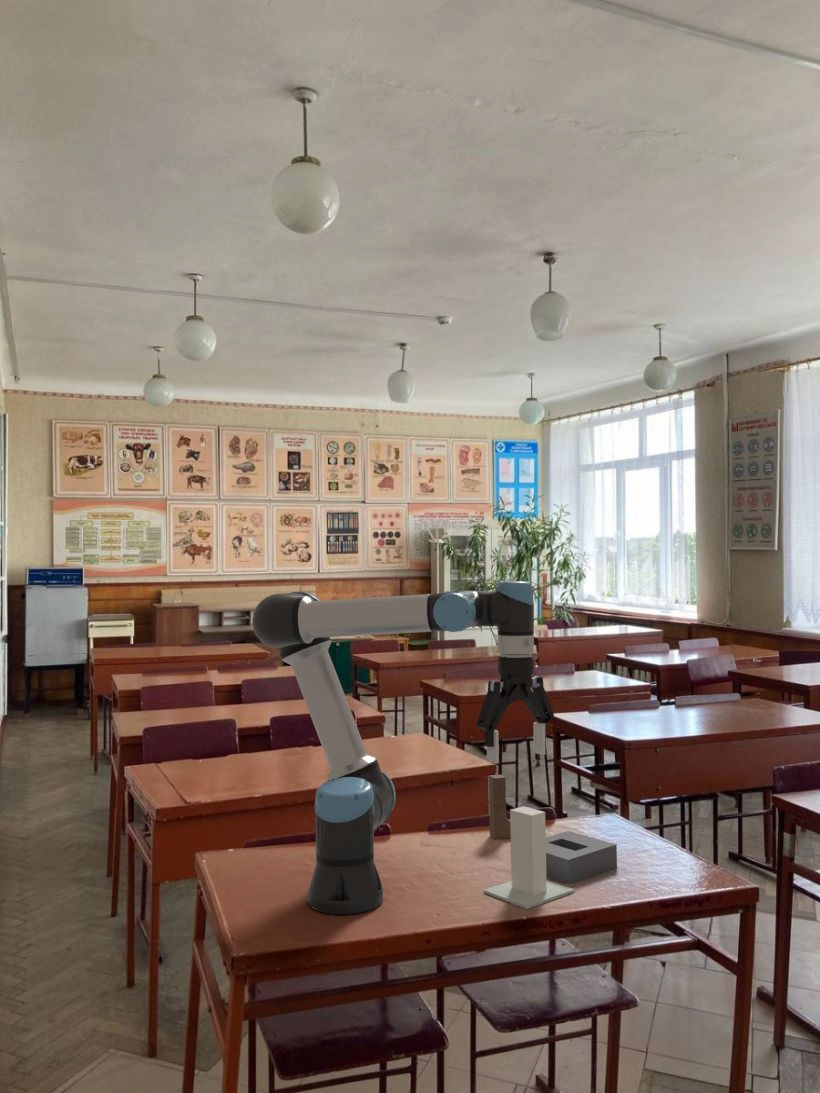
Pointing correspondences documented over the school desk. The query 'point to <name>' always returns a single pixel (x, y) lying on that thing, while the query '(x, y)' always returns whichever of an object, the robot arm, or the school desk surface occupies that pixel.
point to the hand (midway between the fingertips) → (516, 758)
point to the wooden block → (498, 808)
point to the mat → (525, 899)
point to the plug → (528, 850)
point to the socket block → (578, 856)
